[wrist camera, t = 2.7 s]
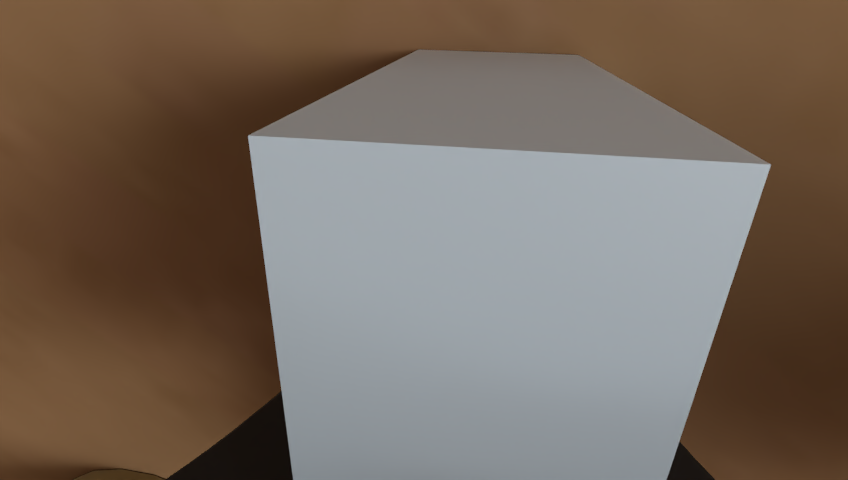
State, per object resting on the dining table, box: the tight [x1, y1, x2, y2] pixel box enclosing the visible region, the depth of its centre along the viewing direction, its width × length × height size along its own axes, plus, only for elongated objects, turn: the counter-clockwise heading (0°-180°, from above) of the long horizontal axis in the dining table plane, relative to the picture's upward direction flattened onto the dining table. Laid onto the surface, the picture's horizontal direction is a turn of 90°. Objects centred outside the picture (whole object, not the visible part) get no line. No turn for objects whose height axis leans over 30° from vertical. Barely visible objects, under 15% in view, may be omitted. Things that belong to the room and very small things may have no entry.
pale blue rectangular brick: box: [248, 50, 771, 480], centre depth 7 cm, size 10×2×6 cm, turn 179°
